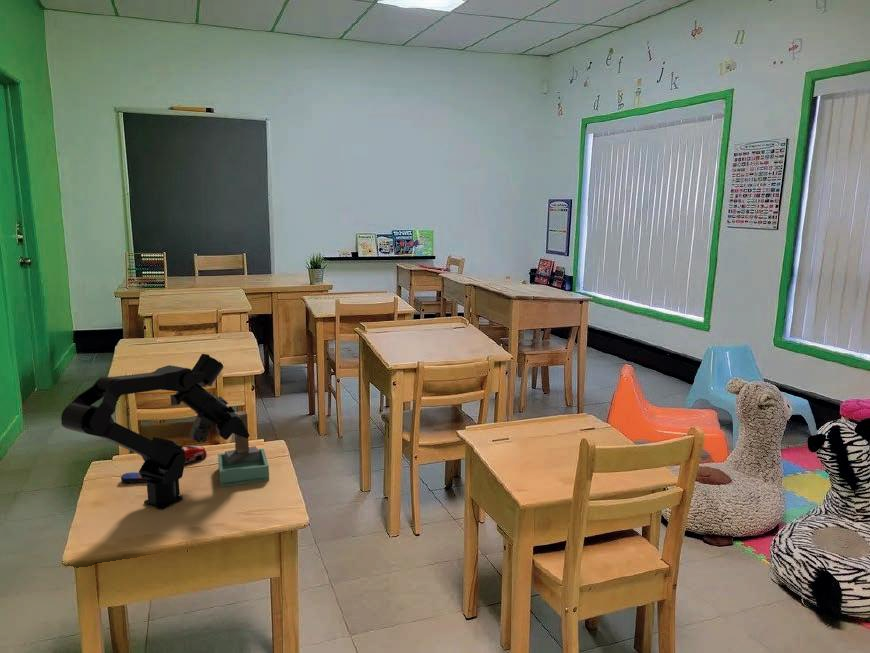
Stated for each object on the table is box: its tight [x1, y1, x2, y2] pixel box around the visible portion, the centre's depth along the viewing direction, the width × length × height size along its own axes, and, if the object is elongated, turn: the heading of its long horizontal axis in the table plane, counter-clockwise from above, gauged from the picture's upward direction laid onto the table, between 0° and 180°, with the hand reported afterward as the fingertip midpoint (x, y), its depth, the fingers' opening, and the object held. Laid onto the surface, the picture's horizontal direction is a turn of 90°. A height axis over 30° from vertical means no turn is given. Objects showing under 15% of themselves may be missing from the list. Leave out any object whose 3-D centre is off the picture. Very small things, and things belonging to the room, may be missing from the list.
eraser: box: [120, 471, 149, 485], centre depth 167 cm, size 11×4×2 cm, turn 98°
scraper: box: [224, 410, 260, 466], centre depth 169 cm, size 8×4×13 cm, turn 121°
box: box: [217, 448, 270, 488], centre depth 171 cm, size 12×12×4 cm
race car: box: [181, 445, 208, 466], centre depth 177 cm, size 13×5×4 cm, turn 136°
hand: (246, 434), depth 169 cm, fingers closed on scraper, 3 cm apart
